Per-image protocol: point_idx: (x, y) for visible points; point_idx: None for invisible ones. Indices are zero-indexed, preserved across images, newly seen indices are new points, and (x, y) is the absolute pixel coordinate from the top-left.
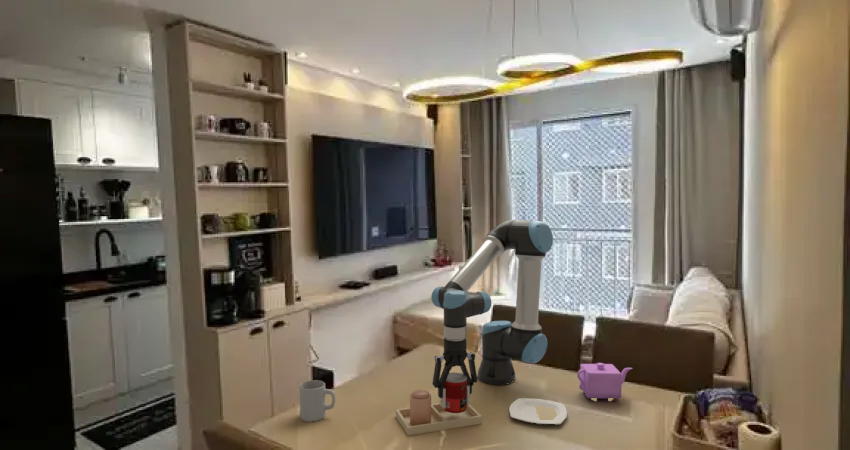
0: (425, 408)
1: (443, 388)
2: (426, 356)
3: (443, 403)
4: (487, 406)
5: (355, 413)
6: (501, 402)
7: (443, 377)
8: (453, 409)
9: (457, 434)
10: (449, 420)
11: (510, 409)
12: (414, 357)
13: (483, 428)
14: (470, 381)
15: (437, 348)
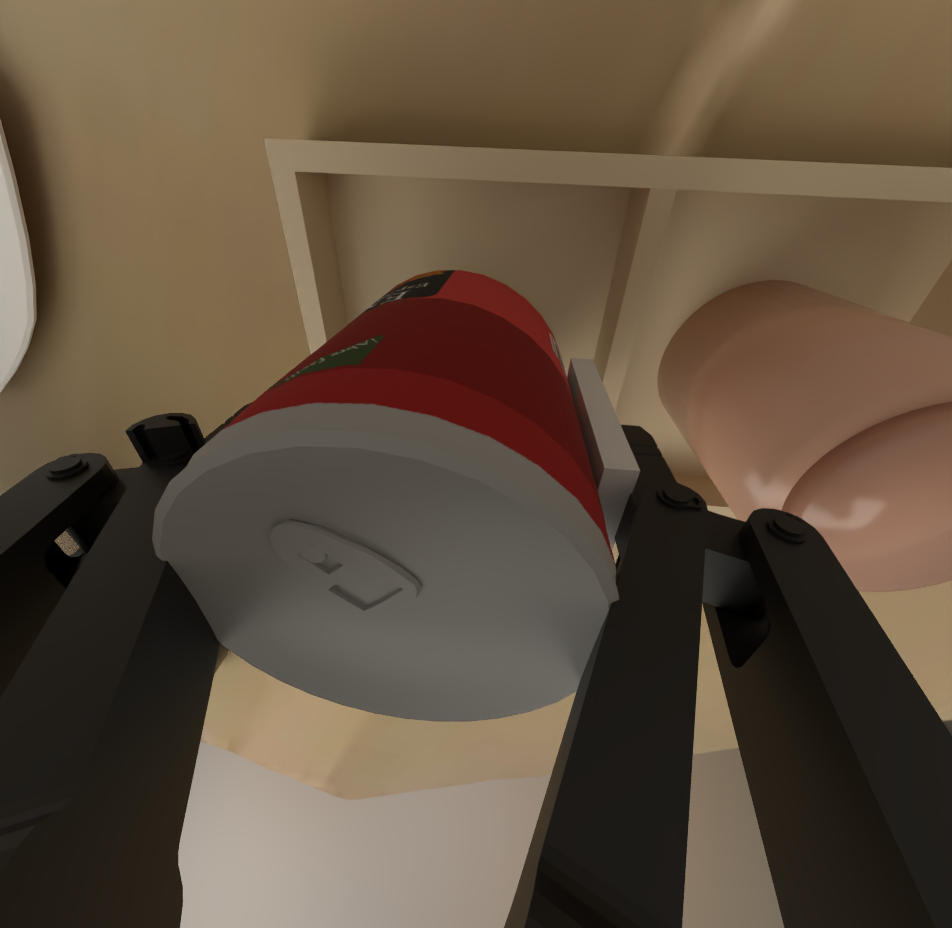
0: (884, 326)
1: (618, 494)
2: (376, 774)
3: (600, 380)
4: (215, 421)
5: (922, 599)
6: (124, 434)
7: (691, 655)
8: (518, 296)
9: (585, 31)
10: (615, 178)
11: (17, 265)
12: (415, 779)
13: (302, 66)
14: (158, 477)
15: (329, 787)
